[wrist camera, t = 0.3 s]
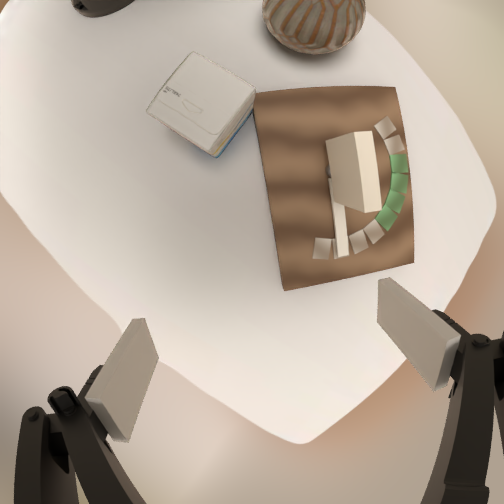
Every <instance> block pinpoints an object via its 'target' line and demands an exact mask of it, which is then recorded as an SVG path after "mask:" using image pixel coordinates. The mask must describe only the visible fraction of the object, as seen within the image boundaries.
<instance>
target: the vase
mask: <svg viewBox="0 0 504 504" xmlns="http://www.w3.org/2000/svg"><path fill="white" fill-rule="evenodd" d="M365 12H366V10H365V0H263V3H262V13H263V18H264V22H265V24H266V26H267V28H268V30H269V31H270V33H271V34H272V35H273V36H274V37H275V38H276V39H277V40H278V41H279V42H280V43H281V44H283V45H284V46H286V47H288V48H290V49H292V50H294V51H297V52H300V53H305V54H326V53H330V52H334V51H337V50H339V49H341V48H343V47H344V46H346V45H347V44H348V43H350V42H351V41H352V40H353V39H354V38H355V37H356V35H357V34H358V33H359V31H360V30H361V28H362V25H363V23H364V19H365Z"/></svg>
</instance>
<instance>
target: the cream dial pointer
mask: <svg viewBox="0 0 504 504" xmlns="http://www.w3.org/2000/svg"><path fill="white" fill-rule="evenodd" d="M326 147H327V153H328V159H329V164H328V165H327V167H326V174H327V175H328V176H329V177H331V178H328V181H329V188H330V195H331V203H332V211H333V220H334V229H335V239H336V249H337V256H338V257H342V256H347V255H349V251H348V238H347V227H346V218H345V208H344V206H347V207H350V208H353V209H355V210H358V211H361V212H363V213H368V212H374V211H380V210H382V205H381V194H380V184H379V176H378V168H377V160H376V153H375V147H374V141H373V135H372V131H362V132H352V133H349V134H345V135H342V136H339V137H336V138H333V139H329V140H326Z"/></svg>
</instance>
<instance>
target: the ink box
mask: <svg viewBox="0 0 504 504" xmlns="http://www.w3.org/2000/svg"><path fill="white" fill-rule="evenodd" d="M255 93H256V88H255V87H254V86H252V85H251V84H249V83H247V82H246V81H244V80H243V79H241V78H240V77H238V76H236V75H235V74H233V73H231V72H230V71H228V70H226V69H225V68H223V67H221V66H220V65H218V64H216V63H214V62H213V61H211V60H209V59H207V58H205V57H204V56H202V55H200V54H198V53H196V52H194V51H193V52H191V53H190V54H189V55H188V56H187V58H186V59H185V60H184V61H183V62H182V63H181V64H180V65H179V67H178V68H177V69H176V70H175V71H174V72H173V74H172V75H171V76H170V77H169V79H168V80H167V81H166V83H165V84H164V85H163V87H162V88H161V89H160V91H159V92H158V93H157V95H156V96H155V98H154V99H153V101H152V102H151V103H150V105H149V106H148V108H147V109H146V113H148V114H149V115H151V116H152V117H154V118H156V119H157V120H158V121H160V122H161V123H163V124H164V125H166V126H167V127H168V128H170V129H172V130H173V131H175V132H176V133H178V134H179V135H181V136H182V137H184V138H185V139H187V140H188V141H190V142H191V143H193V144H194V145H196V146H197V147H199V148H201V149H202V150H204V151H205V152H207V153H208V154H210V155H212V156H214V157H216V158H218V157H219V156H220V155H221V153H222V152H223V151H224V149H225V148H226V147H227V145H228V144H229V143H230V141H231V140H232V139H233V137H234V136H235V135H236V133H237V132H238V131H239V129H240V128H241V127H242V125H243V124H244V123H245V121H246V120H247V119H248V117H249V116H250V114H251V113H252V110H253V104H254V99H255Z"/></svg>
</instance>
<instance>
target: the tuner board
mask: <svg viewBox="0 0 504 504" xmlns="http://www.w3.org/2000/svg"><path fill="white" fill-rule="evenodd" d="M253 114H254V120H255V125H256V130H257V136H258V141H259V147H260V152H261V158H262V163H263V169H264V175H265V181H266V186H267V192H268V198H269V204H270V210H271V216H272V222H273V228H274V234H275V241H276V247H277V253H278V260H279V266H280V273H281V279H282V286H283V289H284V291H288V290H293V289H298V288H303V287H308V286H313V285H318V284H323V283H328V282H332V281H337V280H342V279H346V278H351V277H355V276H360V275H364V274H369V273H373V272H377V271H382V270H386V269H390V268H394V267H398V266H402V265H406V264H411V263H414V219H413V201H412V188H411V178H410V168H409V160H408V152H407V145H406V139H405V133H404V127H403V121H402V116H401V111H400V106H399V101H398V97H397V93H396V88H395V87H382V86H331V87H311V88H297V89H286V90H277V91H268V92H261V93H255V99H254V104H253ZM362 131H372V135H373V141H374V147H375V153H376V160H377V168H378V176H379V184H380V194H381V205H382V210H380V211H374V212H368V213H363V212H361V211H358V210H355V209H353V208H350V207H347V206H344V208H345V218H346V227H347V238H348V251H349V255H347V256H342V257H338V256H337V249H336V239H335V229H334V220H333V211H332V203H331V195H330V188H329V181H328V178H331V177H329V176H328V175H327V174H326V167H327V165H328V164H329V159H328V153H327V147H326V140H329V139H333V138H336V137H339V136H342V135H345V134H349V133H352V132H362Z"/></svg>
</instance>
